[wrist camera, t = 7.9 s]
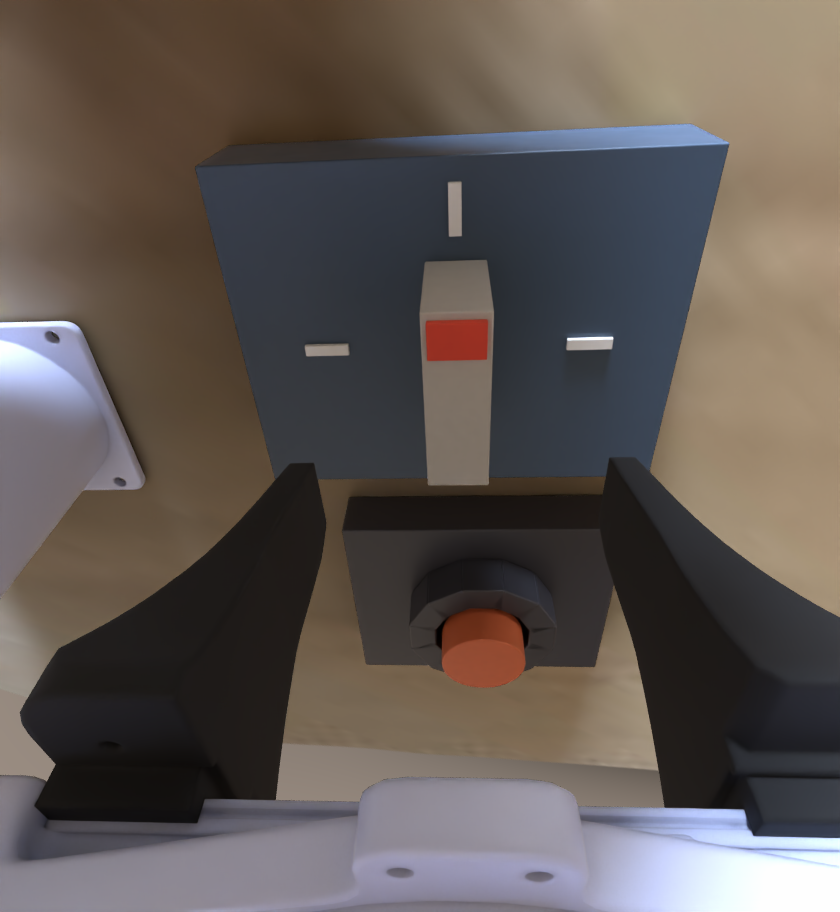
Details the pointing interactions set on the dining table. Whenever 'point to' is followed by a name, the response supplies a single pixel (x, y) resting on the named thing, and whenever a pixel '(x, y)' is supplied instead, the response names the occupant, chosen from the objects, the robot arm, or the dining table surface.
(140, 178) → the dining table surface
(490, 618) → the button
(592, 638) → the button base
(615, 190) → the dial panel
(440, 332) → the grey rectangular block
